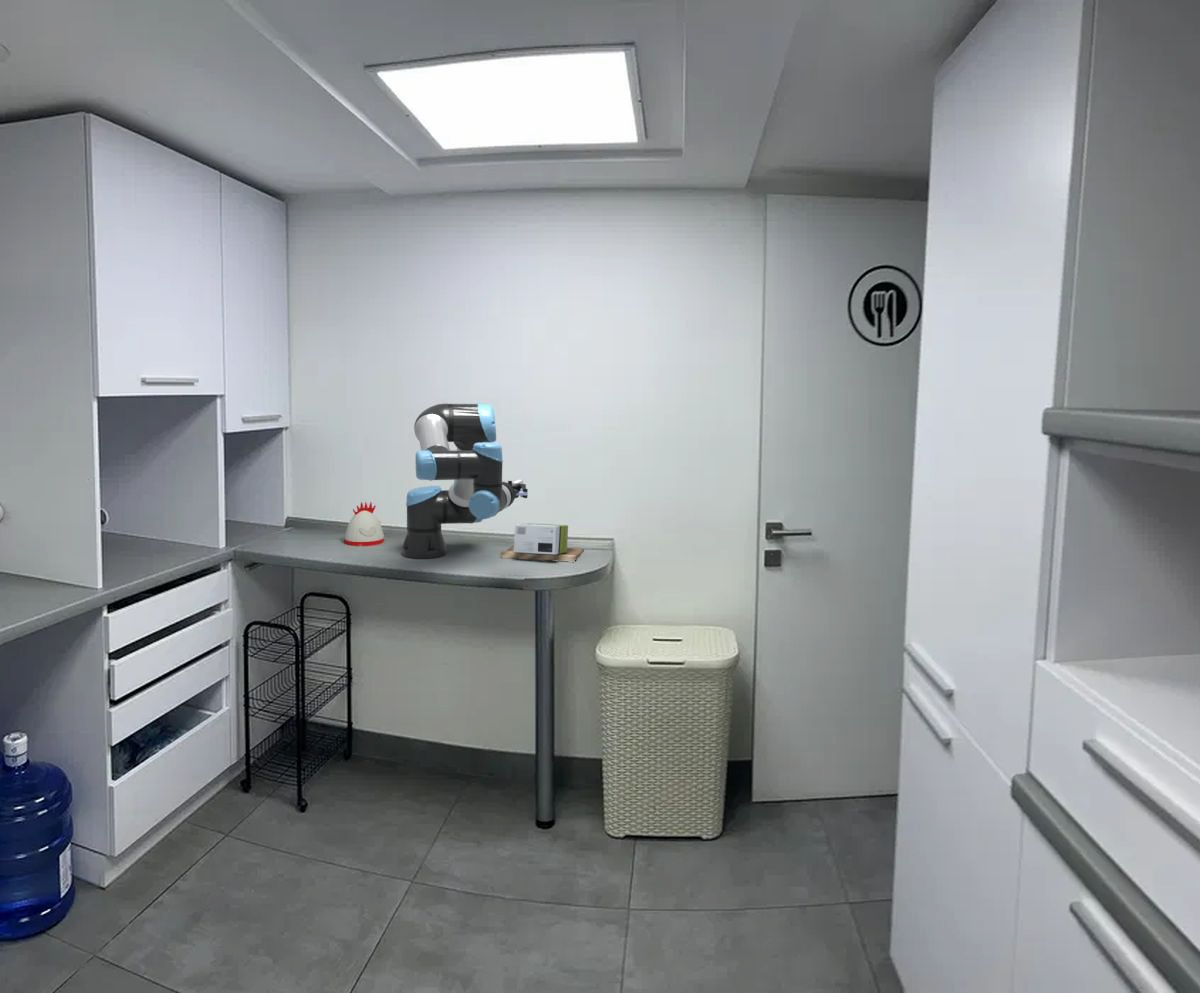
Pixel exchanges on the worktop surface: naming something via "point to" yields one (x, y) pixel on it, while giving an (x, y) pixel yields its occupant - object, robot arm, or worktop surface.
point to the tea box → (540, 538)
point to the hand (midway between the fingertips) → (520, 484)
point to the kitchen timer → (364, 528)
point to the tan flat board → (544, 555)
